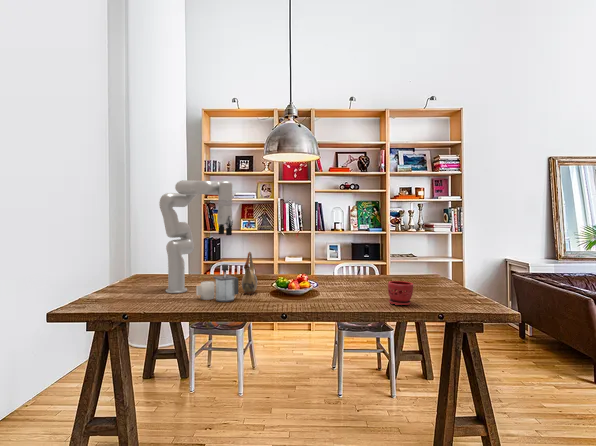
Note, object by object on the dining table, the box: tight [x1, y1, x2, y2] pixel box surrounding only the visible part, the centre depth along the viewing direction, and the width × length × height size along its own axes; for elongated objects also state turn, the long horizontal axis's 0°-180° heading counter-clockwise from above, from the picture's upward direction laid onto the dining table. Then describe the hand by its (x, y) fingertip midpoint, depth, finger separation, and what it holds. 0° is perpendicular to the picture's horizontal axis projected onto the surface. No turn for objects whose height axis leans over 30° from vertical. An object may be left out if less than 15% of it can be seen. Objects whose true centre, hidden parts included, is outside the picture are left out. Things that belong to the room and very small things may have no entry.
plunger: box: [221, 263, 229, 278], centre depth 222 cm, size 7×7×16 cm
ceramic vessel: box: [241, 251, 258, 295], centre depth 240 cm, size 16×9×25 cm, turn 172°
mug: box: [195, 280, 215, 301], centre depth 226 cm, size 8×10×9 cm
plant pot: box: [387, 280, 414, 306], centre depth 215 cm, size 13×13×12 cm
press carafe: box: [212, 274, 239, 303], centre depth 223 cm, size 10×13×13 cm
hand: (225, 234), depth 223 cm, fingers open, 9 cm apart
